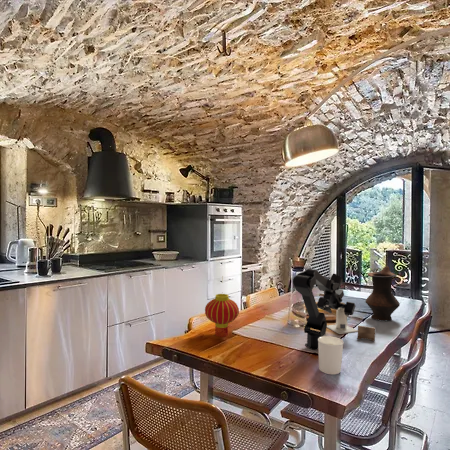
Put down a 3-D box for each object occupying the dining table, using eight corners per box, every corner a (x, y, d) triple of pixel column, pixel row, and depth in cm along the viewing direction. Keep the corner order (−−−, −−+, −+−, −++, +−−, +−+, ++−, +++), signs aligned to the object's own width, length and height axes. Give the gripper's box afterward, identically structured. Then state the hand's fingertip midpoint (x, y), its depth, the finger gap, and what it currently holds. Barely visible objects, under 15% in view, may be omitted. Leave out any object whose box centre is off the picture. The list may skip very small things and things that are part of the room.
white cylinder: (337, 364, 146) (338, 336, 146) (346, 375, 137) (347, 345, 136) (314, 364, 146) (314, 335, 146) (321, 375, 136) (322, 345, 136)
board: (339, 334, 182) (339, 333, 182) (325, 326, 193) (325, 325, 193) (358, 331, 186) (358, 330, 186) (343, 324, 197) (343, 323, 197)
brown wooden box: (357, 338, 176) (357, 326, 176) (357, 336, 179) (358, 324, 179) (374, 341, 173) (375, 329, 173) (374, 338, 176) (375, 327, 176)
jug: (395, 326, 196) (397, 272, 194) (360, 319, 207) (362, 268, 205) (403, 317, 212) (405, 267, 211) (370, 311, 224) (372, 264, 222)
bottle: (334, 326, 192) (335, 301, 191) (344, 326, 192) (345, 301, 191) (337, 329, 187) (338, 304, 186) (348, 330, 186) (348, 304, 186)
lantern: (241, 330, 185) (242, 273, 183) (233, 342, 168) (234, 280, 166) (210, 327, 189) (211, 271, 188) (199, 338, 173) (200, 277, 171)
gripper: (355, 287, 176) (361, 305, 185) (319, 281, 188) (327, 298, 197) (348, 305, 170) (355, 323, 179) (312, 299, 182) (321, 315, 191)
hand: (339, 314), depth 187 cm, fingers open, 9 cm apart
